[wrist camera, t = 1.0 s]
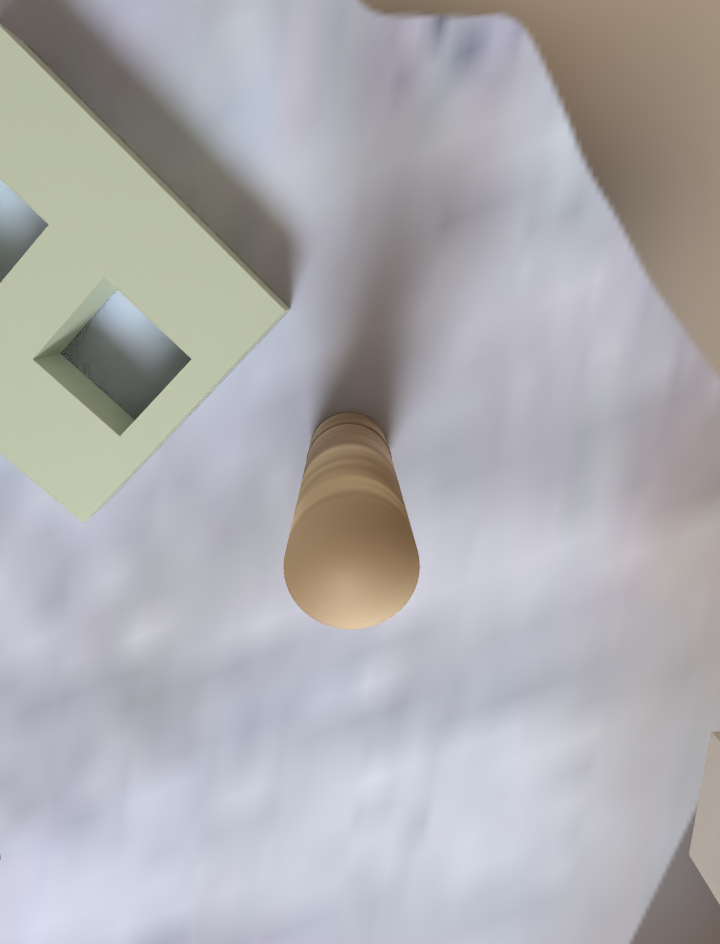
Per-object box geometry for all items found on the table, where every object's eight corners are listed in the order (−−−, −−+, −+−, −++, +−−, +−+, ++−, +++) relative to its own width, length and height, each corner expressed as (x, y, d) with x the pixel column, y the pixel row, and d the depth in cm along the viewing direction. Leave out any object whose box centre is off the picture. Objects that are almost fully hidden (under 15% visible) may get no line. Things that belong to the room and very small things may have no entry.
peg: (293, 450, 34) (254, 568, 19) (348, 395, 33) (351, 474, 18) (349, 503, 34) (352, 654, 20) (404, 449, 34) (448, 567, 19)
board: (-160, 278, 31) (-212, 276, 28) (23, 42, 28) (-13, 13, 26) (105, 503, 34) (83, 523, 31) (290, 308, 32) (284, 310, 29)
